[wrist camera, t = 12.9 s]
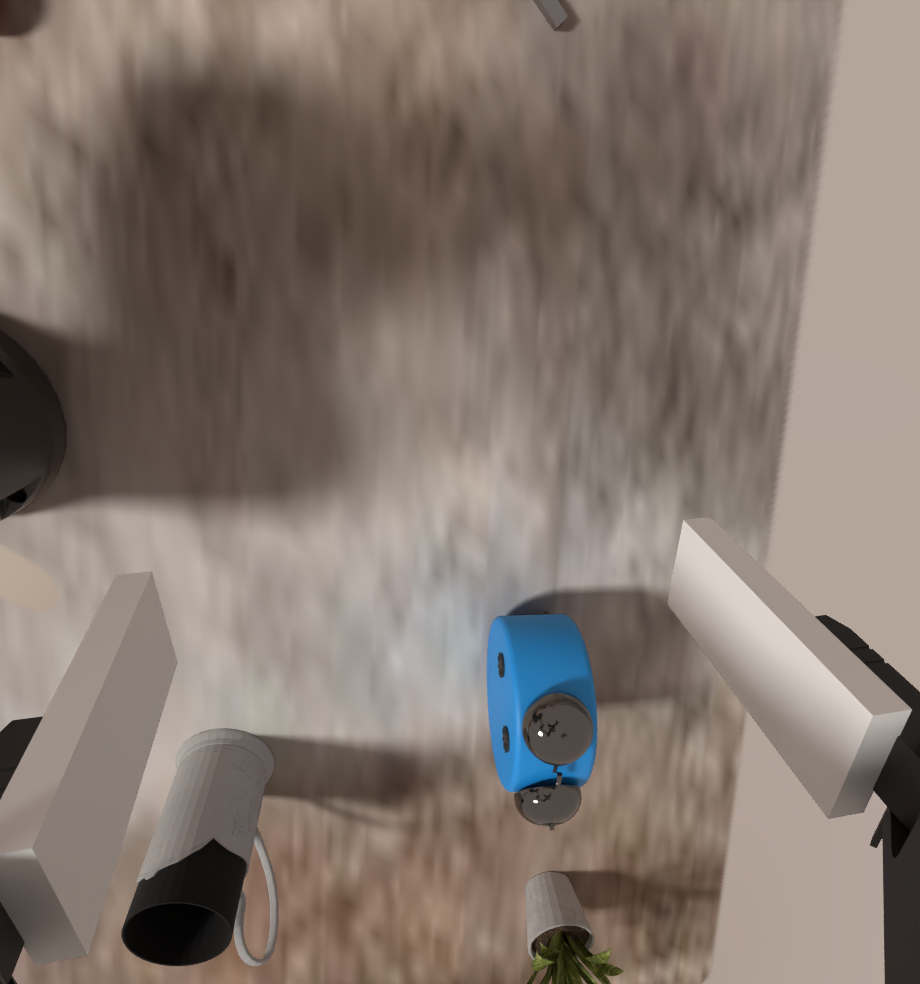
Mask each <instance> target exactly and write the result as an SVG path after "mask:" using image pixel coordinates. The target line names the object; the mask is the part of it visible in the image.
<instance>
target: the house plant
mask: <svg viewBox="0 0 920 984" xmlns="http://www.w3.org/2000/svg"><path fill="white" fill-rule="evenodd" d="M525 894H526V916H527V939H528V953H529V955H530V956H531V958H532V959H534V961H533V963H532V968H533V970H534V971H535V972H534V973H533V975H532V977H531V978H530V980H529V981H528V983H527V984H532V982H533V980H534V978H535V976H536V974H537V973H538V971H540V970H542V969H544V968H545V967H546V966H548V965H549V966H548V969H547V973H546V975H545V977H544V978H543V980H542V982H541V983H540V984H548V982H549V981H550V979H551V976H552V984H583V983H582V981H581V978H580V975H581V977H582V978H583V979H584V980H585V982H586V983H587V984H597V983H596V982H595V980H594V979H593V978H592V976H591V975H590V974H589V973H588V971H587V970H586V969H585V968H584V967H583V966H582V964H581V963H580V962H579V961H578V960H577V959H579V958H580V960H581V961H582V962H583V963H584V964H585V965H586V966H587V967H588V968H589V969H590V970H591V971H592V973H593V974H594V975H595V976H596V977H597V978H598V979H599V980H600V981H601V983H602V984H611V983H610V981H609V980H608V979H607V977H606V976H605V975H604V974H606V975H609V976H615V975H619V974H620V973H622V972H623V971H622V970H621V969H620V968H618V967H615V966H613V965H611V964H608V963H606V962H607V961H608V959H609V956H610V953H611V949H612V947H611V949H610V950H608V951H605V952H602V953H599V954H597V955H593V954H591V953H590V952H589V950H590V949H591V948H592V946H593V943H594V935H593V932H592V930H591V928H590V926H589V923H588V921H587V919H586V917H585V914H584V912H583V910H582V907H581V905H580V903H579V901H578V898H577V896H576V894H575V891H574V889H573V887H572V885H571V882H570V880H569V878H568V877H567V876H566V875H565V874H562V873H558V872H544V873H541V874H538V875H536V876H535V877H533V878H532V879H531V880H529V882H528V883H527V884H526V888H525ZM603 973H604V974H603ZM579 974H580V975H579Z"/></svg>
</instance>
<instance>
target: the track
mask: <svg viewBox="0 0 920 984" xmlns="http://www.w3.org/2000/svg"><path fill="white" fill-rule="evenodd" d="M534 1H535V3H536V4H537V6H538V7H539V9H540V10H541V12H542V13H543V15H544V16H545V18H546V19H547V21H548V22H549V24H550V25H551V27H552V28H553V30H555V29H556V28H557V27H558V26H559V25H560V24H561V23H562V22H563V21H564V20H565V19H566V18H567V17H568V15H567V13H566V12H565V10H564V9H563V7H562V6H561V4H560V3H559V1H558V0H534Z"/></svg>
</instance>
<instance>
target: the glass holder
mask: <svg viewBox="0 0 920 984" xmlns="http://www.w3.org/2000/svg"><path fill="white" fill-rule="evenodd" d="M176 768H177V772H176V775H175V778H174V780H173V783H172V786H171V789H170V791H169V794H168V797H167V800H166V802H165V805H164V808H163V811H162V813H161V816H160V819H159V822H158V824H157V827H156V830H155V833H154V835H153V838H152V841H151V844H150V846H149V849H148V852H147V855H146V857H145V860H144V863H143V866H142V868H141V871H140V874H139V877H138V879H137V883H138V882H139V884H138V887H137V889H136V892H135V895H134V898H133V900H132V903H131V906H130V909H129V912H128V914H127V917H126V920H125V923H124V925H123V928H122V940H123V943H124V944H125V946H126V947H127V948H128V950H129V951H130V952H132V953H133V954H134V955H136V956H137V957H139V958H141V959H143V960H146V961H148V962H151V963H155V964H159V965H167V966H188V965H194V964H199V963H202V962H206V961H208V960H210V959H213V958H214V957H216V956H218V955H219V954H221V953H222V952H223V951H224V950H225V949H226V948H227V947H228V945H229V944H230V941H231V939H232V934H233V929H234V939H235V943H236V948H237V951H238V953H239V955H240V957H241V959H242V960H243V961H244V962H245V963H246V964H248V965H250V966H259V965H261V964H263V963H265V962H266V961H268V960H269V959H270V957H271V955H272V954H273V952H274V948H275V943H276V939H277V930H278V896H277V887H276V881H275V875H274V872H273V868H272V865H271V862H270V860H269V857H268V854H267V851H266V848H265V845H264V843H263V840H262V838H261V835H260V832H259V830H258V827H257V824H258V819H259V814H260V810H261V805H262V800H263V795H264V790H265V785H266V783H267V782H268V781H269V779H270V778H271V776H272V773H273V771H274V757H273V754H272V752H271V751H270V749H269V747H268V746H267V745H266V744H265V743H264V742H263V741H261V740H260V739H259V738H257V737H255V736H253V735H252V734H249V733H246V732H244V731H240V730H235V729H213V730H208V731H204V732H201V733H199V734H196V735H194V736H193V737H191V738H190V739H188V740H187V741H186V742H185V743H184V744H183V745H182V746H181V748H180V749H179V751H178V754H177V757H176ZM254 843H255V846H256V848H257V851H258V853H259V856H260V859H261V862H262V865H263V868H264V872H265V875H266V879H267V885H268V891H269V900H270V930H269V940H268V944H267V948H266V953H265V954H264V956H263V958H262V959H256V958H254V957H253V956H252V955H251V954H250V953H249V951H248V949H247V946H246V944H245V940H244V935H243V922H244V914H245V907H246V898H245V895H244V892H243V891H242V886H243V881H244V878H245V877H246V874H247V872H248V868H249V863H250V858H251V853H252V849H253V844H254ZM234 924H235V925H234Z"/></svg>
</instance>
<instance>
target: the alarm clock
mask: <svg viewBox="0 0 920 984" xmlns="http://www.w3.org/2000/svg"><path fill="white" fill-rule="evenodd" d="M487 696H488V712H489V724H490V733H491V741H492V747H493V753H494V759H495V763H496V768H497V772H498V775H499V778H500V781H501V783H502V785H503V786H504V788H505V789H506V790H508V791H510V792H517V793H515V794H514V802H515V806H516V808H517V810H518V812H519V813H520V814H521V816H522V817H523V818H525V819H526V820H527V821H529V822H531V823H533V824H536V825H539V826H549V827H550V830H554V826H555V825H559V824H563V823H565V822H566V821H568V820H570V819H571V818H572V817H573V816H574V815H575V814H576V812H577V811H578V810H579V807H580V805H581V800H582V798H581V789H580V787H581V786H583V785H584V784H585V783H586V782H587V781H588V779H589V777H590V775H591V772H592V769H593V766H594V761H595V755H596V747H597V708H596V697H595V688H594V681H593V675H592V670H591V665H590V661H589V657H588V653H587V650H586V646H585V643H584V640H583V638H582V635H581V633H580V631H579V629H578V628H577V626H576V624H575V623H574V622H573V620H572V619H571V618H569V617H568V616H566V615H564V614H548V612H544V614H543V615H511V616H498V617H497V618H495V620H494V621H493V623H492V626H491V629H490V634H489V642H488V654H487Z"/></svg>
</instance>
